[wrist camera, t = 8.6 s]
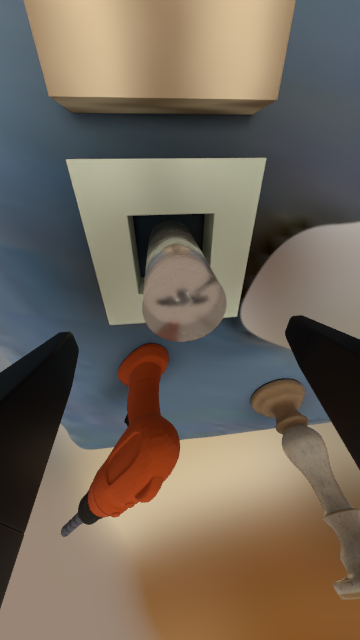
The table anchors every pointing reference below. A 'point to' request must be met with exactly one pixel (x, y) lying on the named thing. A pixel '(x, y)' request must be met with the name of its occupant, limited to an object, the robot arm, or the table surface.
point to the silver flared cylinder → (180, 286)
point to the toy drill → (134, 444)
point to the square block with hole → (161, 199)
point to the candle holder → (314, 472)
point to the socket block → (162, 54)
